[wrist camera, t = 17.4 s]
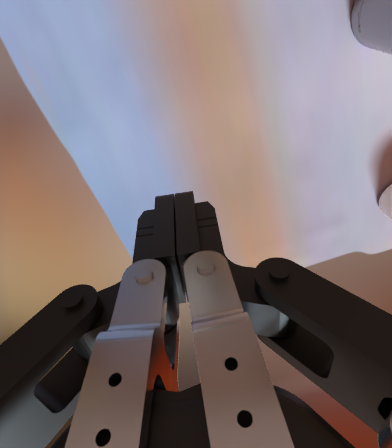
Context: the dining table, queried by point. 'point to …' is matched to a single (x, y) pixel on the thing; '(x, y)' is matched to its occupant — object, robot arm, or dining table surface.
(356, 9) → the robot arm
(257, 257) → the dining table surface
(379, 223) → the dining table surface
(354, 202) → the dining table surface
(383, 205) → the beverage can
